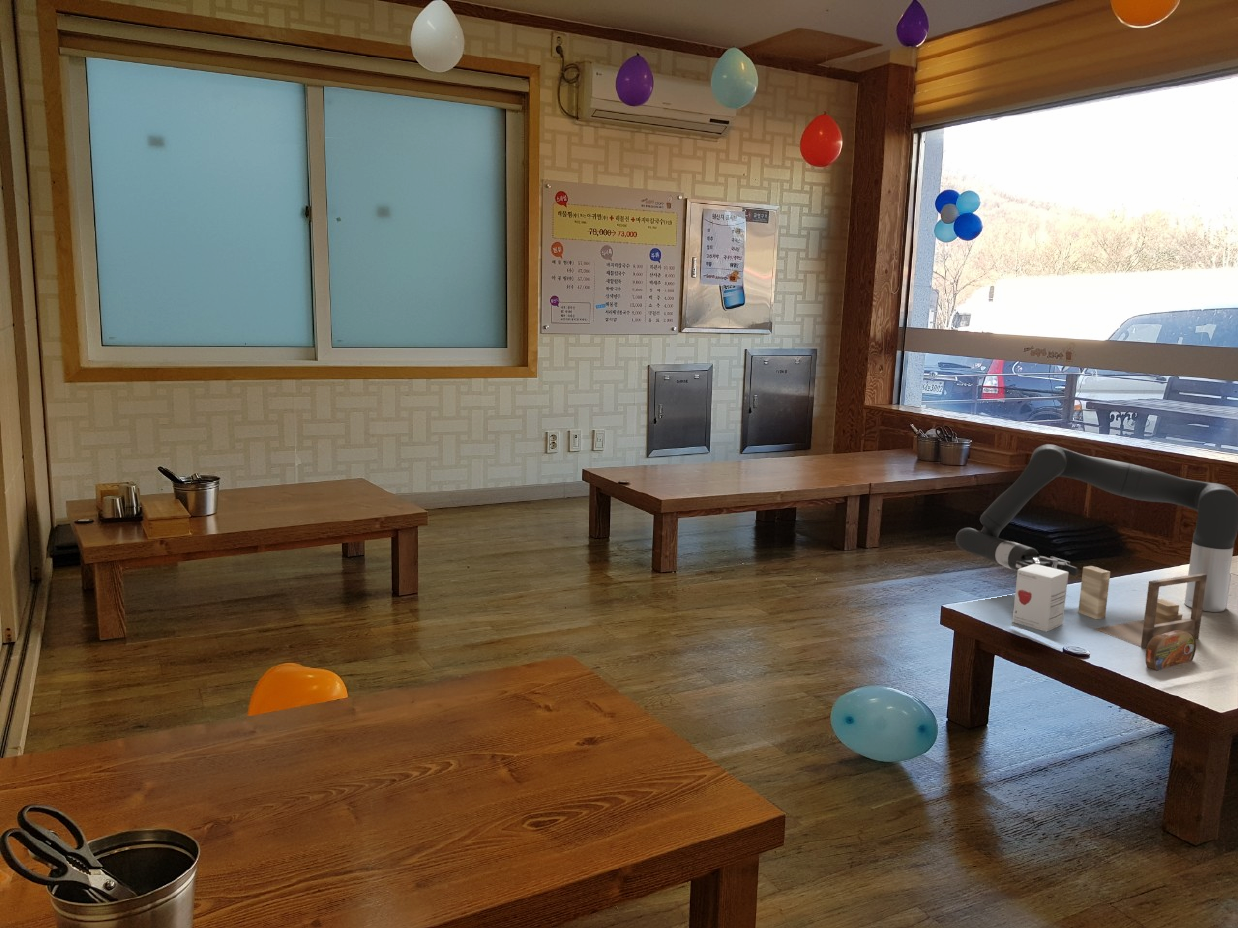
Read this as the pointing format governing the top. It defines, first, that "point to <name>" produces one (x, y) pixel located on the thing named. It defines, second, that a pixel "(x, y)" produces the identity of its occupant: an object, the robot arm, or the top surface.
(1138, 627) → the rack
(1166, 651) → the tin
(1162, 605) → the offcut top
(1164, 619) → the offcut mid
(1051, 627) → the supplement box
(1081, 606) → the pale wooden block
